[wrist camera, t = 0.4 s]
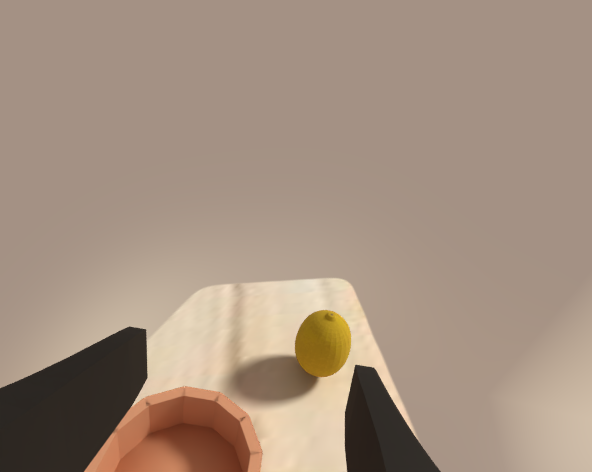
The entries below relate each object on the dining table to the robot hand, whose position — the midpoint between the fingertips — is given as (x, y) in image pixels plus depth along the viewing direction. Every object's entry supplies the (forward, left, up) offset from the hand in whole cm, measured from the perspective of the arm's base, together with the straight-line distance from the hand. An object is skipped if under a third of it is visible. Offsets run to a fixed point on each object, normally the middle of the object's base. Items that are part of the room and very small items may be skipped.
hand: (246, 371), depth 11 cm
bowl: (+4, +4, -19) cm, 20 cm away
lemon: (+17, -6, -19) cm, 27 cm away
